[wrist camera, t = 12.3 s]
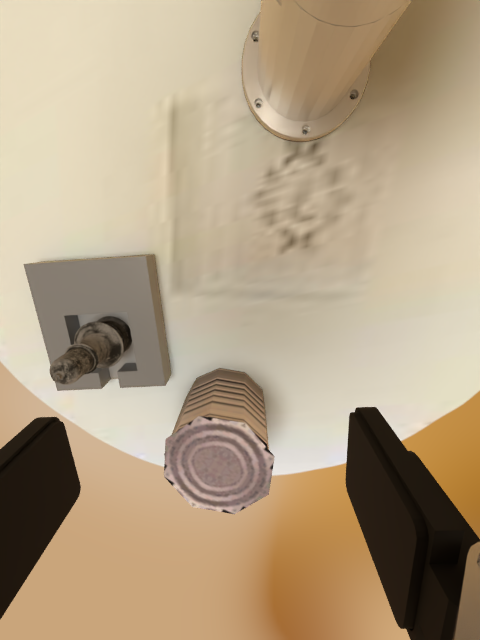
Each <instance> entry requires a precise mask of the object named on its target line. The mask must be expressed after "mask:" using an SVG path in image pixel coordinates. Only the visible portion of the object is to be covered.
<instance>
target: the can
mask: <svg viewBox="0 0 480 640" xmlns="http://www.w3.org/2000/svg"><path fill="white" fill-rule="evenodd" d="M164 455H165V469H164V477H165V478H166V479H167V480H168V481H169V482H170V483H171V485H172V486H173V487H174V488H175V489H176V490H177V491H178V492H179V493H180V494H181V495H182V496H183V497H184V498H185V499H186V500H187V502H188V503H189V504H190V505H191V506H192V507H197V508H203V509H208V510H214V511H220V512H225V513H231V514H235V513H237V512H239V511H241V510H242V509H244V508H246V507H248V506H249V505H251V504H252V503H255V502H256V501H258V500H260V499H262V498H263V497H265V496H267V495H268V494H269V488H270V482H271V476H272V469H273V463H274V456H273V454H272V453H271V452H270V451H269V447H268V436H267V426H266V415H265V406H264V399H263V391H262V389H261V388H260V387H259V386H258V385H257V384H256V383H255V382H254V381H253V380H252V379H251V378H250V377H249V376H248V375H247V374H246V373H244V372H239V371H233V370H227V369H221V368H219V369H216V370H214V371H212V372H209V373H207V374H205V375H202V376H200V377H198V378H196V380H195V382H194V384H193V386H192V387H191V389H190V391H189V393H188V395H187V397H186V399H185V401H184V404H183V407H182V409H181V412H180V414H179V417H178V420H177V422H176V425H175V428H174V430H173V433H172V435H171V436H170V437H168V438H167V439H166V445H165V454H164Z"/></svg>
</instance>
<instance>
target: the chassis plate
mask: <svg viewBox="0 0 480 640" xmlns="http://www.w3.org/2000/svg"><path fill="white" fill-rule="evenodd" d="M24 267H25V271H26V275H27V279H28V282H29V286H30V290H31V294H32V297H33V301H34V305H35V308H36V312H37V316H38V320H39V323H40V327H41V331H42V335H43V338H44V342H45V346H46V350H47V353H48V357H49V361H50V365H51V364H52V363H53V362H54V361H55V360H56V359H57V358H59V357H61V356H62V355H64V354H65V351H66V349H67V348H68V347H69V346H70V345H73V344H74V338H75V334H76V332H77V331H78V329H79V328H80V327H81V326H83V325H85V324H87V323H90V322H96V321H97V320H98V319H100V318H102V317H106V316H113V317H117V318H119V319H121V320H123V321H124V322H125V323H126V324H127V325H128V326H129V328H130V331H131V337H132V343H131V345H130V347H129V349H128V350H126V351H125V352H124V353H123V356H122V358H121V359H120V361H119V362H118V363H117V364H115V365H114V366H112V367H109V368H96V369H95V370H94V371H93V372H91V373H89V374H84V375H83V376H82V377H80V378H79V379H78V380H77V381H76V382H74V383H72V384H68V385H65V384H60V383H57V382H56V381H55V383H56V387H57V391H61V390H82V389H102V388H103V387H104V386H105V385H106V384H107V383H108V381H109V380H110V379H119V384H120V388H126V387H147V386H165V385H166V384H167V382H168V380H169V378H170V376H171V369H170V362H169V355H168V348H167V341H166V334H165V327H164V320H163V313H162V307H161V300H160V293H159V286H158V279H157V272H156V265H155V258H154V254H153V255H138V256H122V257H107V258H92V259H77V260H62V261H47V262H37V263H30V264H24Z"/></svg>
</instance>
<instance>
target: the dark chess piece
mask: <svg viewBox="0 0 480 640" xmlns="http://www.w3.org/2000/svg"><path fill="white" fill-rule="evenodd" d="M131 343H132V337H131V331H130V328H129V326H128V325H127V324H126V323H125V322H124V321H123V320H121V319H119V318H117V317H113V316H106V317H102V318H100V319H98V320H97V321H96V322H90V323H87V324H85V325H83V326H81V327H80V328H79V329H78V331H77V332H76V334H75V338H74V344H73V345H70V346H69V347H68V348H67V349H66V351H65V354H64V355H62V356H61V357H59V358H57V359H56V360H55V361H54V362H53V363H52V364H51V366H50V375H51V377H52V378H53V381H56V382H57V383H60V384H65V385H68V384H72V383H74V382H76V381H77V380H78V379H79V378H80V377H82V376H83V375H84V374H89V373H91V372H93V371H94V370H95V369H96V368H109V367H112V366H114V365H115V364H117V363H118V362H119V361H120V359H121V358H122V356H123V353H124V352H125V351H126V350H128V349H129V347H130V345H131Z"/></svg>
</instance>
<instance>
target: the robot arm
mask: <svg viewBox="0 0 480 640" xmlns="http://www.w3.org/2000/svg"><path fill="white" fill-rule="evenodd" d="M411 1H412V0H261V12H260V13H259V14H258V16H257V17H256V19H255V21H254V22H253V24H252V26H251V28H250V30H249V33H248V36H247V38H246V41H245V45H244V50H243V55H242V84H243V88H244V93H245V97H246V100H247V102H248V104H249V107H250V109H251V111H252V112H253V114H254V116H255V117H256V119H257V120H258V121H259V122H260V123H261V124H262V125H263V126H264V127H265V128H266V129H267V130H268V131H270V132H271V133H273V134H274V135H276V136H279V137H281V138H283V139H286V140H291V141H310V140H314V139H318V138H320V137H322V136H325V135H327V134H329V133H330V132H332V131H333V130H335V129H336V128H337V127H339V126H340V125H341V124H342V123H343V122H344V121H345V120H346V119H347V118H348V117H349V115H350V114H351V113H352V111H353V110H354V109H355V108H356V106H357V104H358V103H359V101H360V99H361V97H362V95H363V92H364V90H365V87H366V84H367V81H368V77H369V72H370V64H371V58H372V57H373V55H374V54H375V52H376V51H377V50H378V48H379V47H380V45H381V44H382V42H383V41H384V40H385V38H386V37H387V35H388V34H389V33H390V31H391V30H392V28H393V27H394V25H395V24H396V23H397V21H398V20H399V18H400V17H401V16H402V14H403V13H404V11H405V10H406V8H407V7H408V6H409V4H410V3H411ZM255 39H256V40H258V41H257V42H254V40H255ZM350 96H352V97H353V100H352V99H351V98H350ZM257 104H260V106H261V107H260V108H257V107H256V105H257ZM304 130H306V131H307V134H306V135H304V134H303V131H304ZM346 487H347V492H348V495H349V497H350V500H351V503H352V506H353V508H354V511H355V514H356V516H357V519H358V522H359V524H360V527H361V529H362V532H363V535H364V537H365V540H366V543H367V545H368V548H369V551H370V553H371V556H372V559H373V561H374V564H375V567H376V569H377V572H378V575H379V577H380V580H381V583H382V585H383V588H384V591H385V593H386V596H387V599H388V601H389V604H390V606H391V609H392V612H393V615H394V617H395V620H396V622H397V624H398V626H399V627H400V628H401V629H404V628H405V629H407V632H408V634H409V637H410V639H411V640H480V539H479V538H478V536H477V535H476V534H475V532H474V531H473V530H472V528H471V527H470V526H469V524H468V523H467V522H466V520H465V519H464V518H463V516H462V515H461V513H460V512H459V511H458V509H457V508H456V507H455V506H454V504H453V503H452V501H451V500H450V499H449V498H448V496H447V495H446V493H445V492H444V491H443V490H442V488H441V487H440V486H439V484H438V483H437V481H436V480H435V479H434V477H433V476H432V475H431V473H430V472H429V471H428V469H427V468H426V467H425V465H424V464H423V463H422V461H421V460H420V459H419V457H418V456H417V455H416V454H415V453H414V452H412V451H407V450H406V448H405V447H404V445H403V444H402V442H401V441H400V440H399V438H398V437H397V435H396V434H395V433H394V431H393V430H392V428H391V427H390V426H389V424H388V423H387V422H386V420H385V419H384V417H383V416H382V415H381V413H380V412H379V410H378V409H377V408H376V407H360V408H356V410H355V412H352V413H350V416H349V432H348V449H347V466H346ZM80 488H81V487H80V482H79V478H78V474H77V471H76V467H75V463H74V459H73V456H72V452H71V448H70V444H69V441H68V437H67V433H66V430H65V426H64V423H63V422H61V421H60V420H59V419H58V418H57V417H40V418H36V419H34V420H33V421H32V422H31V423H30V424H29V425H27V426H26V427H25V428H24V429H23V430H22V431H21V432H20V433H18V434H17V435H16V436H15V437H14V438H13V439H12V440H11V441H9V442H8V443H7V444H6V445H5V446H4V447H2V448H1V449H0V619H1V618H2V616H3V615H4V613H5V611H6V610H7V608H8V607H9V605H10V603H11V602H12V600H13V599H14V597H15V596H16V594H17V592H18V591H19V589H20V588H21V586H22V585H23V583H24V582H25V580H26V579H27V577H28V575H29V574H30V572H31V571H32V569H33V568H34V566H35V564H36V563H37V561H38V560H39V558H40V557H41V555H42V553H43V552H44V550H45V549H46V547H47V546H48V544H49V542H50V541H51V539H52V538H53V536H54V535H55V533H56V531H57V530H58V528H59V527H60V525H61V524H62V522H63V520H64V519H65V517H66V516H67V514H68V513H69V511H70V510H71V508H72V506H73V505H74V503H75V502H76V500H77V498H78V497H79V494H80Z"/></svg>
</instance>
